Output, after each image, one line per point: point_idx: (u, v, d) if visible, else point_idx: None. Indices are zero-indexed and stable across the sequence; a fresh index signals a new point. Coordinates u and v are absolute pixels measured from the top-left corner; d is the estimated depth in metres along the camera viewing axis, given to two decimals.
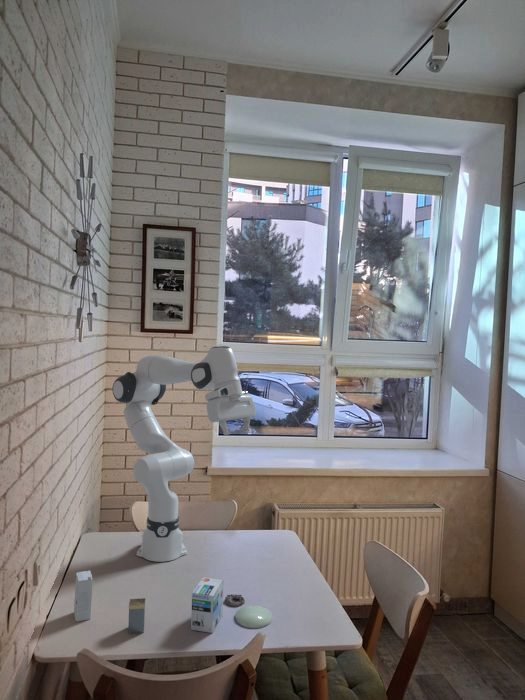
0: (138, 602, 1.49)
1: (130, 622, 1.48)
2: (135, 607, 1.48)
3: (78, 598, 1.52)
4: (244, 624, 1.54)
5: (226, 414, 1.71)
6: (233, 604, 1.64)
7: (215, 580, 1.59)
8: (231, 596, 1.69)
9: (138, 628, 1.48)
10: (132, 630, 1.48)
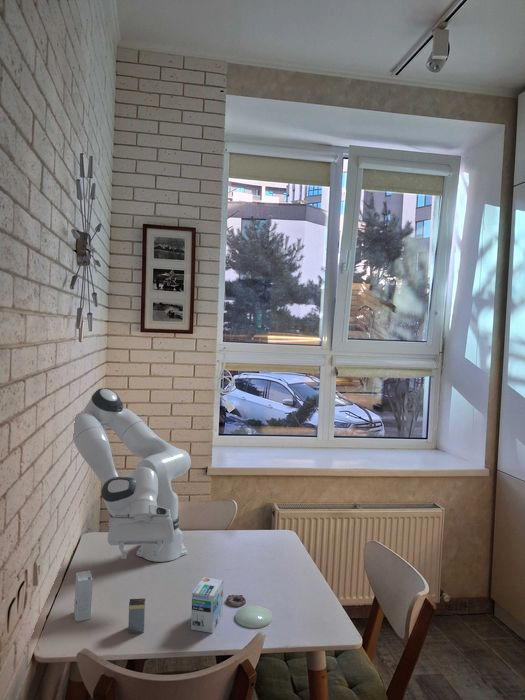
0: (138, 602, 1.49)
1: (130, 622, 1.48)
2: (135, 607, 1.48)
3: (78, 598, 1.52)
4: (244, 624, 1.54)
5: None
6: (234, 604, 1.64)
7: (215, 580, 1.59)
8: (232, 596, 1.68)
9: (138, 628, 1.48)
10: (132, 630, 1.48)
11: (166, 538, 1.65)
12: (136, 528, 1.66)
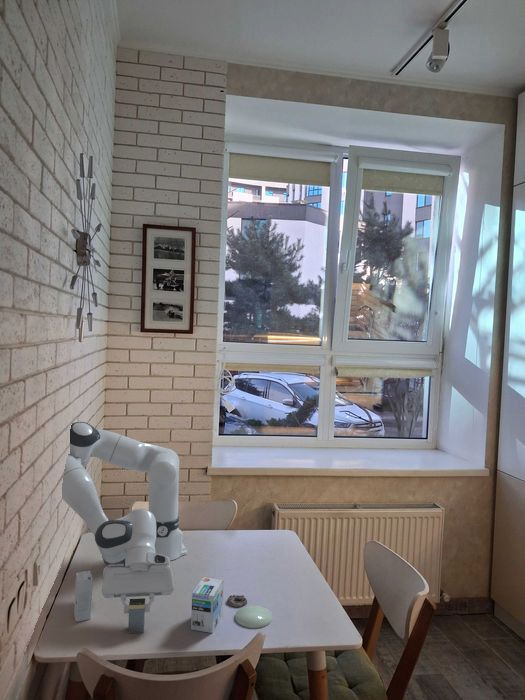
0: (138, 602, 1.49)
1: (130, 622, 1.48)
2: (135, 607, 1.48)
3: (78, 598, 1.52)
4: (244, 624, 1.54)
5: None
6: (235, 605, 1.64)
7: (215, 580, 1.59)
8: (233, 597, 1.68)
9: (138, 628, 1.48)
10: (132, 630, 1.48)
11: (165, 590, 1.52)
12: (133, 579, 1.53)
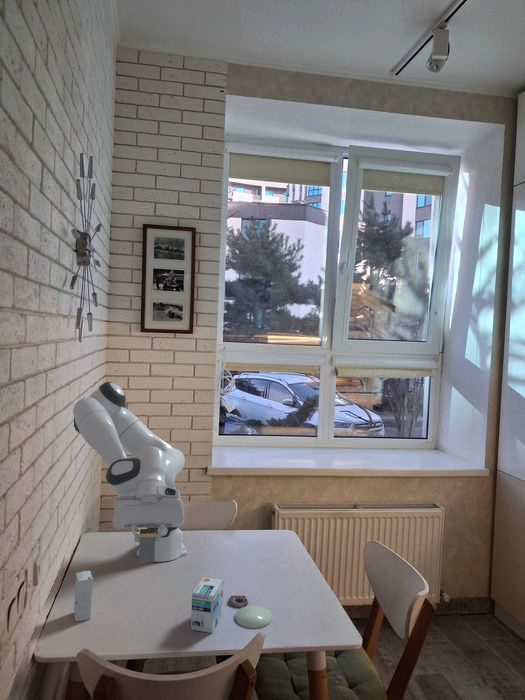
0: (149, 531, 1.49)
1: (141, 550, 1.48)
2: (146, 535, 1.48)
3: (78, 598, 1.52)
4: (244, 624, 1.53)
5: None
6: (237, 605, 1.64)
7: (215, 580, 1.59)
8: (234, 597, 1.68)
9: (149, 557, 1.48)
10: (143, 558, 1.48)
11: (175, 520, 1.52)
12: (143, 510, 1.53)
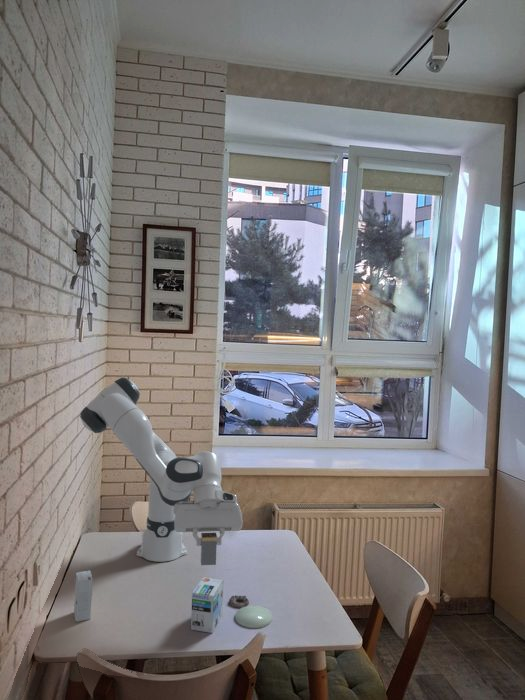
0: (210, 535, 1.54)
1: (203, 554, 1.52)
2: (208, 539, 1.52)
3: (78, 598, 1.52)
4: (244, 624, 1.53)
5: None
6: (237, 605, 1.64)
7: (215, 580, 1.59)
8: (235, 597, 1.68)
9: (211, 560, 1.53)
10: (205, 562, 1.52)
11: (234, 525, 1.57)
12: (203, 514, 1.58)
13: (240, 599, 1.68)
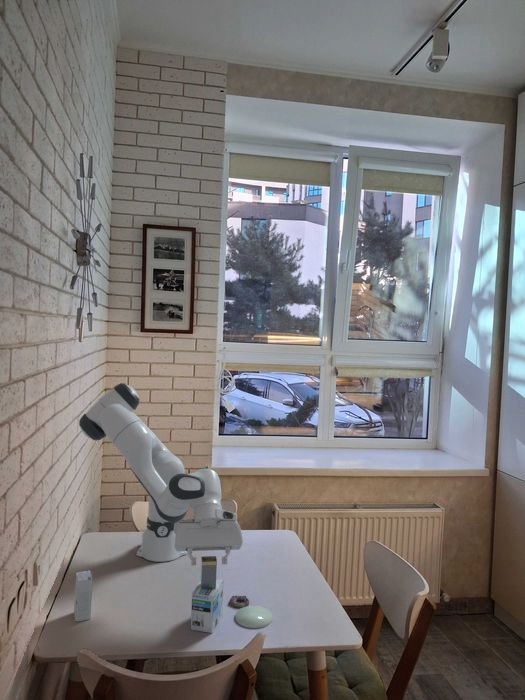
0: (210, 559, 1.54)
1: (203, 578, 1.53)
2: (208, 563, 1.53)
3: (78, 598, 1.52)
4: (244, 624, 1.53)
5: None
6: (238, 605, 1.64)
7: None
8: (236, 597, 1.68)
9: (211, 584, 1.53)
10: (205, 586, 1.53)
11: (235, 544, 1.57)
12: (203, 533, 1.58)
13: (240, 599, 1.68)
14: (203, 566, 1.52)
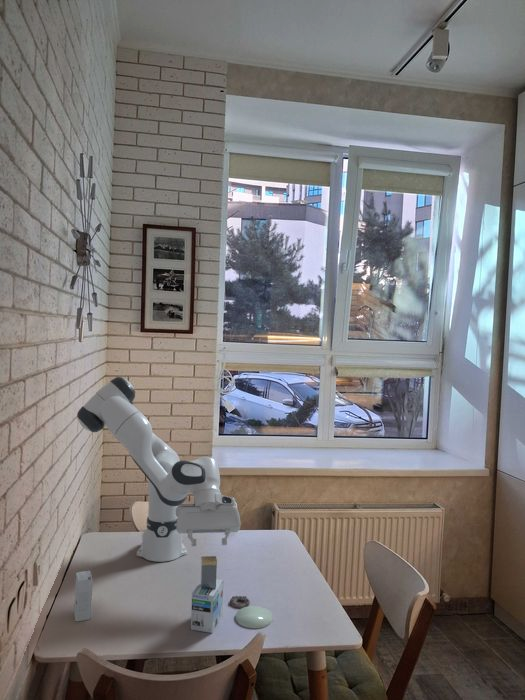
0: (210, 559, 1.54)
1: (203, 578, 1.53)
2: (208, 563, 1.53)
3: (78, 598, 1.52)
4: (244, 625, 1.53)
5: None
6: (238, 606, 1.64)
7: None
8: (236, 598, 1.68)
9: (211, 584, 1.53)
10: (205, 586, 1.53)
11: (233, 526, 1.68)
12: (203, 517, 1.68)
13: (241, 599, 1.68)
14: (203, 566, 1.52)
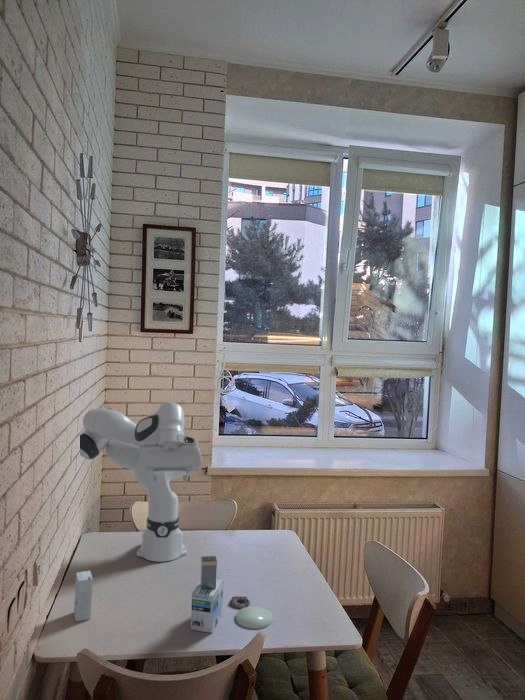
0: (210, 559, 1.54)
1: (203, 578, 1.52)
2: (208, 563, 1.53)
3: (78, 598, 1.52)
4: (245, 625, 1.53)
5: None
6: (238, 606, 1.63)
7: None
8: (236, 598, 1.67)
9: (211, 584, 1.53)
10: (205, 586, 1.53)
11: (194, 464, 1.70)
12: (165, 455, 1.70)
13: (241, 600, 1.67)
14: (203, 566, 1.52)
